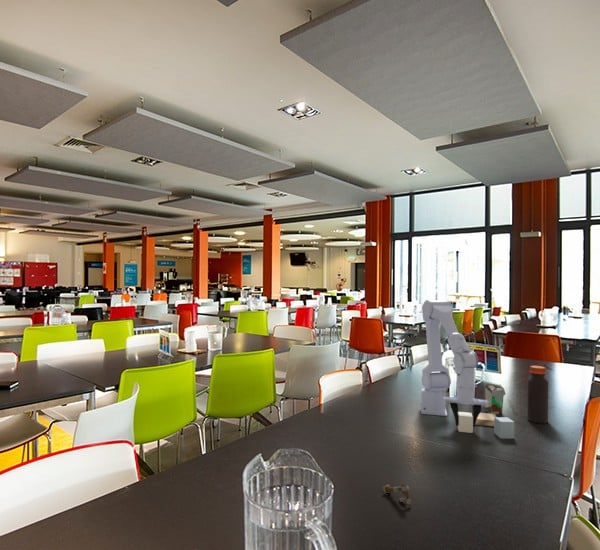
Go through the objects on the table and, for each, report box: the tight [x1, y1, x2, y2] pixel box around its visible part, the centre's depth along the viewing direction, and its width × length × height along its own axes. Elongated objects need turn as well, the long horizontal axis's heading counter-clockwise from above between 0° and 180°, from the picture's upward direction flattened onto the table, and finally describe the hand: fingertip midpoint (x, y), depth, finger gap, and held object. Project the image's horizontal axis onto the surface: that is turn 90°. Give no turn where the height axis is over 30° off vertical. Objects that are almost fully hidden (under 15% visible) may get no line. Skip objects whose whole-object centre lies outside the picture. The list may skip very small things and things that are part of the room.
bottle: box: [526, 365, 549, 425], centre depth 155 cm, size 7×7×20 cm
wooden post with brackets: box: [382, 483, 413, 507], centre depth 98 cm, size 2×8×4 cm, turn 31°
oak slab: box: [475, 412, 497, 427], centre depth 154 cm, size 8×8×2 cm
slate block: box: [493, 416, 515, 440], centre depth 140 cm, size 4×4×6 cm
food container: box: [484, 382, 506, 417], centre depth 164 cm, size 12×6×10 cm, turn 168°
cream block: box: [457, 411, 474, 434], centre depth 145 cm, size 4×4×6 cm
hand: (465, 425), depth 145 cm, fingers open, 5 cm apart
